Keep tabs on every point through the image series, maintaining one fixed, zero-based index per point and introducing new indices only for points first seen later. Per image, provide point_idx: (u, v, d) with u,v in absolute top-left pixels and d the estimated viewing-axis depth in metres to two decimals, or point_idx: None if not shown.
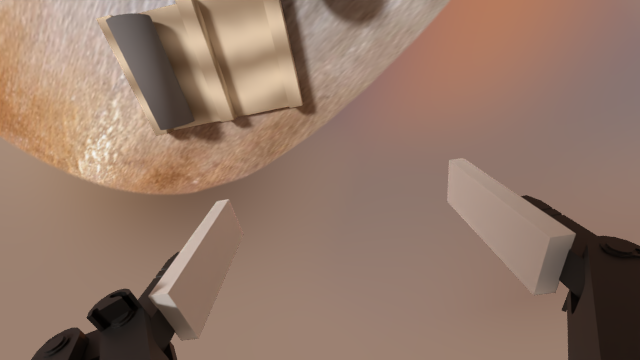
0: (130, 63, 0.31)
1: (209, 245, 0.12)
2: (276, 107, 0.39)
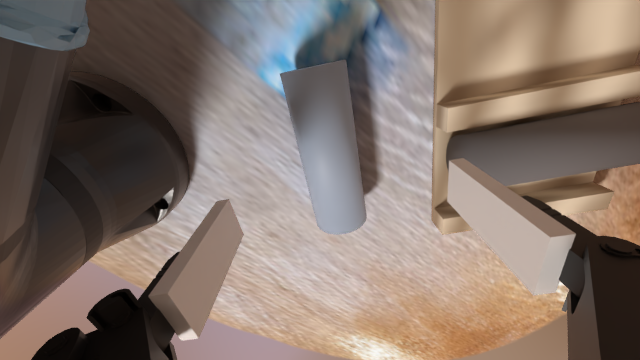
0: (538, 134, 0.18)
1: (209, 245, 0.12)
2: None
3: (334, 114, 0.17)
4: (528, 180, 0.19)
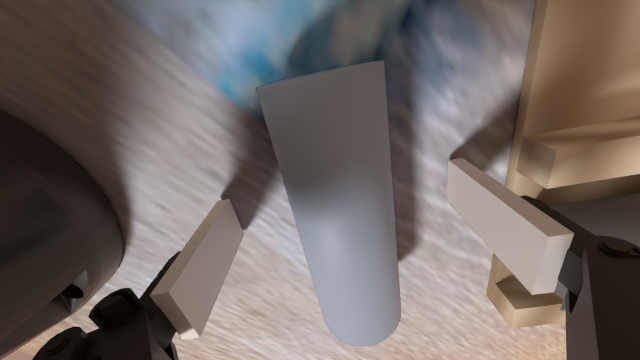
0: None
1: (210, 244, 0.12)
2: None
3: (366, 166, 0.09)
4: None
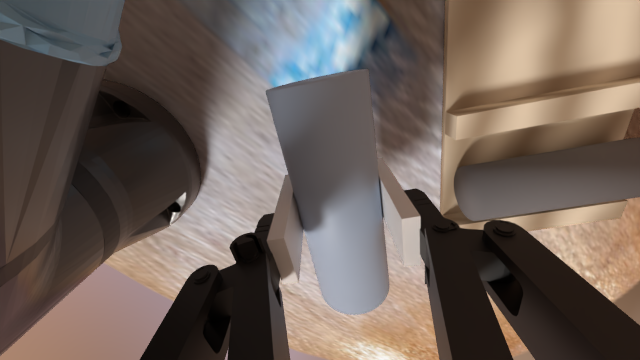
0: (550, 194, 0.19)
1: (293, 208, 0.13)
2: None
3: (350, 156, 0.11)
4: None
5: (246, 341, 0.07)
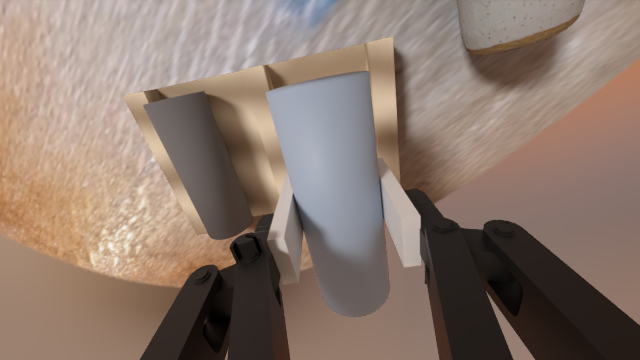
0: (178, 161, 0.21)
1: (293, 208, 0.13)
2: None
3: (350, 158, 0.11)
4: None
5: (246, 341, 0.07)
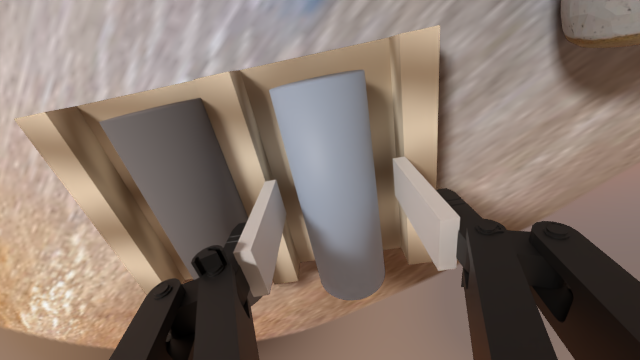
0: (222, 188, 0.14)
1: (269, 217, 0.13)
2: None
3: (346, 150, 0.12)
4: (151, 201, 0.13)
5: (211, 357, 0.06)
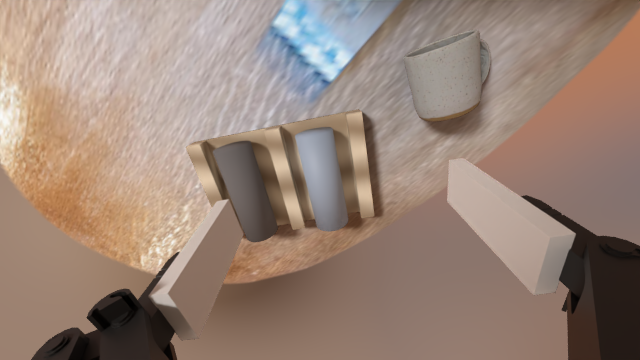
0: (244, 186, 0.32)
1: (209, 245, 0.12)
2: None
3: (325, 160, 0.31)
4: None
5: None
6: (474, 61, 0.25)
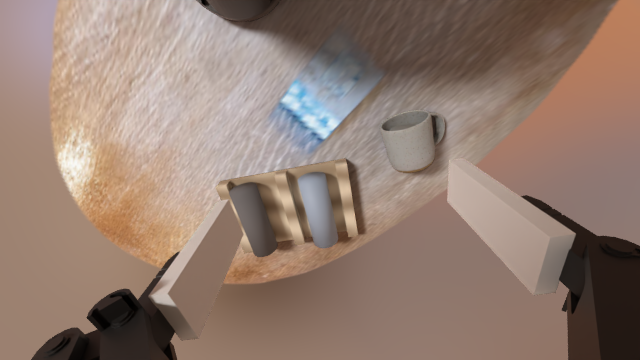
0: (245, 219, 0.43)
1: (209, 245, 0.12)
2: None
3: (320, 199, 0.42)
4: None
5: None
6: (426, 137, 0.35)
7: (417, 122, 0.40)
